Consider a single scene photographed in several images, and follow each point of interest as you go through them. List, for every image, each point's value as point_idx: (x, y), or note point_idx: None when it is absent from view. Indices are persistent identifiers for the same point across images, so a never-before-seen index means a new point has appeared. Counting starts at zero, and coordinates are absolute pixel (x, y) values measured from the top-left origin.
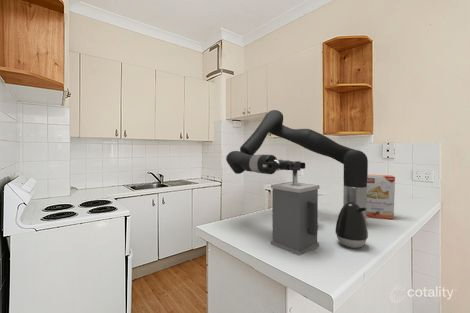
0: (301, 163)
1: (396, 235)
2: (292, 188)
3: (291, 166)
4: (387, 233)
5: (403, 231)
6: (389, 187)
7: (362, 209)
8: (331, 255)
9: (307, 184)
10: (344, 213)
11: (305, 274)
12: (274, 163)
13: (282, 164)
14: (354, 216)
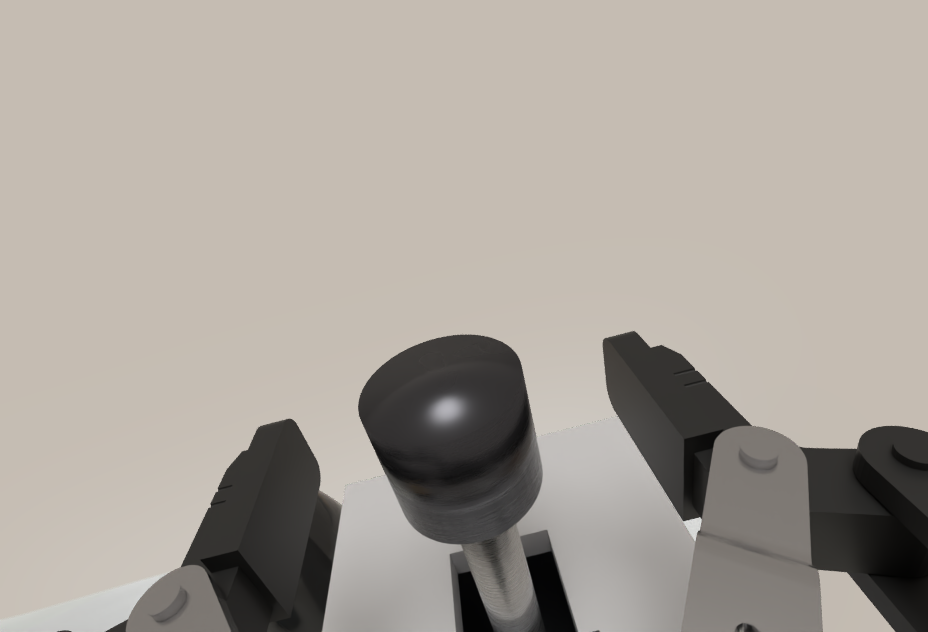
0: (284, 453)
1: (120, 595)
2: (646, 467)
3: (532, 425)
4: (103, 629)
5: (49, 608)
6: None
7: None
8: None
9: (376, 557)
10: (324, 530)
11: (694, 526)
12: (901, 436)
13: (698, 411)
14: (328, 496)
